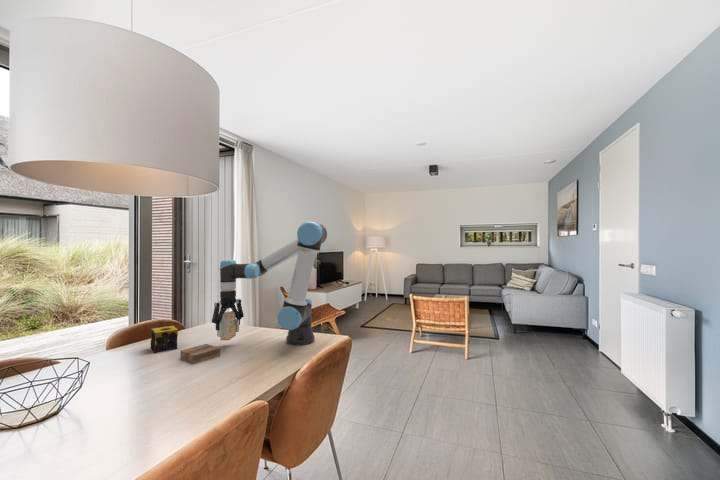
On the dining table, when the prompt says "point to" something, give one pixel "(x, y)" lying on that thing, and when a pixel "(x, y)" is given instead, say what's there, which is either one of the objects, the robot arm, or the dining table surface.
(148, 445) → the dining table surface
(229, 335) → the supplement box
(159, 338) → the black and yellow box
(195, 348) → the walnut block
